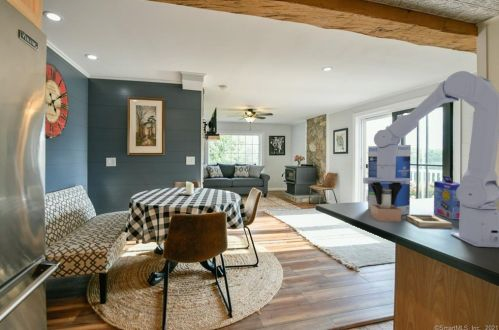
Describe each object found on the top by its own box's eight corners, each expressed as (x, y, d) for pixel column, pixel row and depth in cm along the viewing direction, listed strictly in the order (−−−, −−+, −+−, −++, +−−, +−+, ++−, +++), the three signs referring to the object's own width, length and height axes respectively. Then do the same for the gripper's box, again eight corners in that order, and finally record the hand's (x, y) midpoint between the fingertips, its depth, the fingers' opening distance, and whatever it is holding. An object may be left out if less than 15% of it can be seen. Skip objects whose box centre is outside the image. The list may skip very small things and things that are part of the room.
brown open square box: (400, 221, 83) (401, 209, 83) (378, 220, 84) (378, 209, 84) (391, 216, 91) (391, 205, 90) (370, 215, 91) (370, 204, 91)
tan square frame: (451, 228, 76) (452, 221, 76) (419, 227, 77) (420, 221, 77) (434, 220, 85) (434, 214, 85) (405, 219, 86) (405, 213, 86)
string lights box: (410, 214, 93) (412, 144, 92) (396, 216, 90) (397, 144, 89) (379, 207, 105) (381, 145, 104) (366, 208, 102) (367, 145, 101)
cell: (393, 212, 85) (393, 189, 85) (381, 212, 86) (382, 189, 85) (388, 209, 89) (388, 187, 89) (377, 209, 89) (378, 187, 89)
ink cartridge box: (432, 212, 95) (433, 174, 95) (447, 212, 95) (449, 174, 94) (450, 219, 86) (451, 177, 85) (467, 219, 85) (469, 177, 84)
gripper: (403, 164, 89) (402, 202, 90) (360, 164, 91) (360, 201, 92) (413, 165, 83) (412, 206, 83) (367, 165, 84) (366, 205, 85)
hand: (385, 204), depth 87 cm, fingers closed on cell, 4 cm apart
